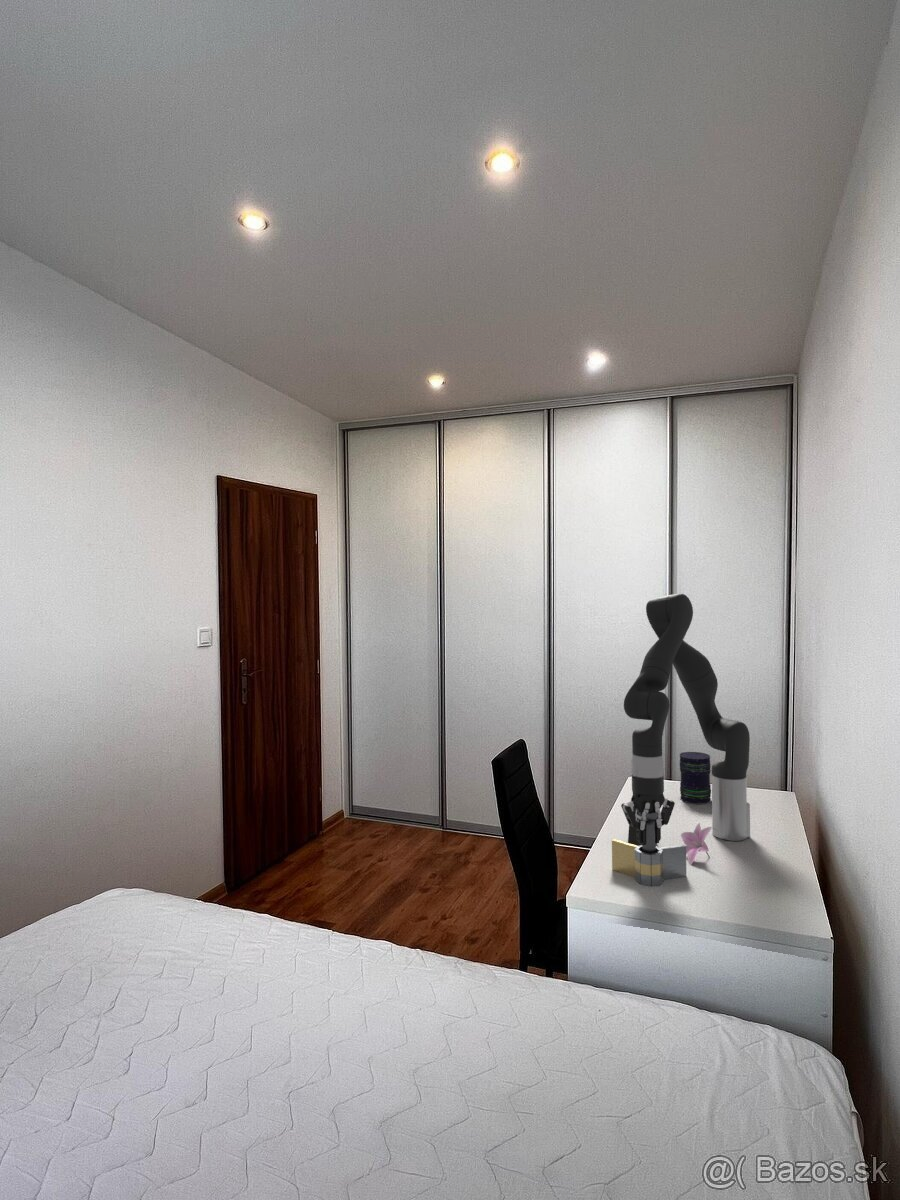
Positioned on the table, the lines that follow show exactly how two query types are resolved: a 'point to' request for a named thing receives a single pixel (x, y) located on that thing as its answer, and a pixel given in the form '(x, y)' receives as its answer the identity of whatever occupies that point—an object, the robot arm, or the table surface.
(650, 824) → the hinge pin
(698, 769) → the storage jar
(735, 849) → the table surface
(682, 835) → the lily
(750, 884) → the table surface
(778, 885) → the table surface
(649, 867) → the hinge
